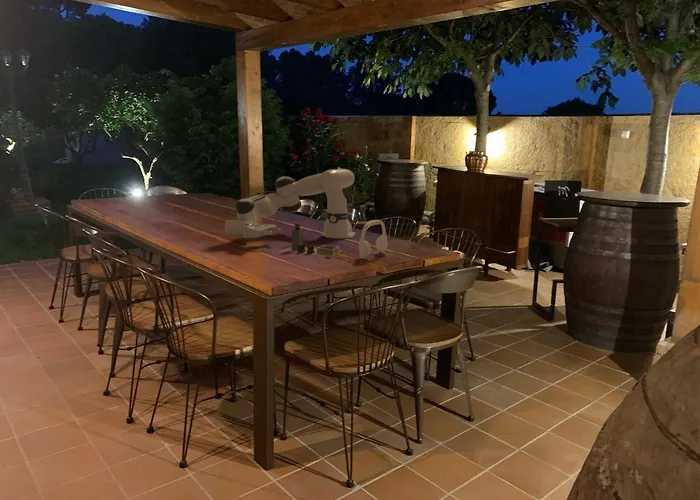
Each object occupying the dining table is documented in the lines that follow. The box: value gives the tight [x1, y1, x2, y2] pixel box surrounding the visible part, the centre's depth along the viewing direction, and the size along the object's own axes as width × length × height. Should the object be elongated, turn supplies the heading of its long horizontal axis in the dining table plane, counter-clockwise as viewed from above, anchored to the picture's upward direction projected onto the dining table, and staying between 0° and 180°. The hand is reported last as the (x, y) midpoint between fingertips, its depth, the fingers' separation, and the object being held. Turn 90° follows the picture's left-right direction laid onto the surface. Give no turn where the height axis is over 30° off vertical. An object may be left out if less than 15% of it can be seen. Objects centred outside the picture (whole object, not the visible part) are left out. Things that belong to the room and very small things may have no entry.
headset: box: [358, 219, 389, 259], centre depth 273 cm, size 20×7×18 cm, turn 143°
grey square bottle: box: [291, 223, 304, 250], centre depth 280 cm, size 4×4×13 cm
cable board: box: [281, 244, 344, 259], centre depth 279 cm, size 16×27×5 cm, turn 69°
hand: (275, 231), depth 284 cm, fingers open, 8 cm apart
